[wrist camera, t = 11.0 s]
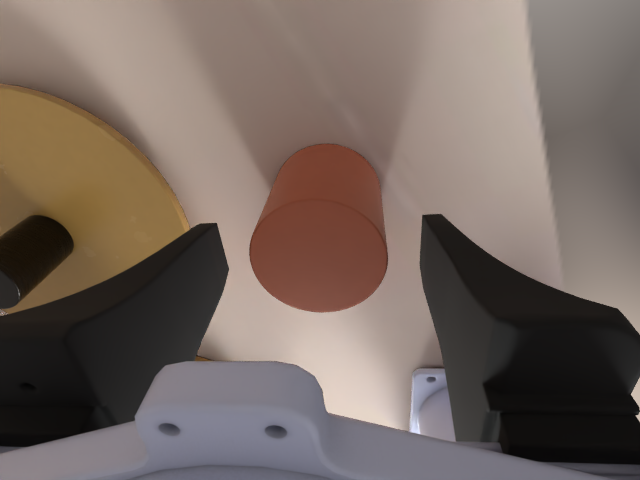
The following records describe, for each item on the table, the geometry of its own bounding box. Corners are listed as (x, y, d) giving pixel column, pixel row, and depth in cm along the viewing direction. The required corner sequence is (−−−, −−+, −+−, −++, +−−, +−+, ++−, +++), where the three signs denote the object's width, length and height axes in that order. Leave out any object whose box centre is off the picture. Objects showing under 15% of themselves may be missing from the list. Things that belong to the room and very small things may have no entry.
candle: (380, 140, 16) (388, 195, 12) (380, 237, 18) (387, 312, 14) (267, 146, 16) (236, 202, 12) (283, 240, 19) (261, 313, 15)
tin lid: (148, 65, 15) (74, 94, 11) (225, 324, 22) (196, 397, 18) (-154, 92, 17) (-315, 126, 13) (8, 326, 24) (-61, 394, 20)
